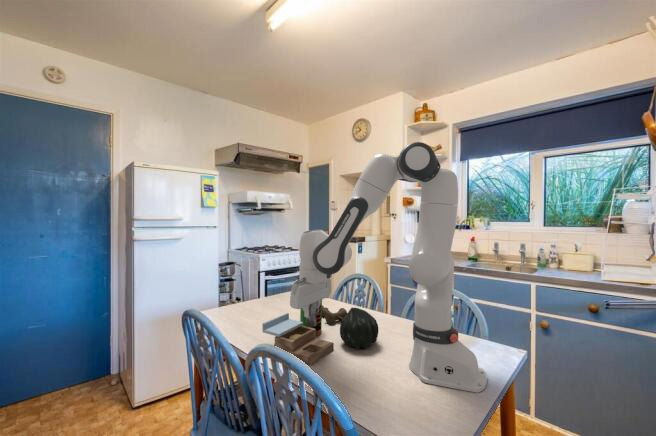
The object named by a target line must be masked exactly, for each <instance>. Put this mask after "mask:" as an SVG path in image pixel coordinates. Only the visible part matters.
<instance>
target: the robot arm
mask: <svg viewBox="0 0 656 436" xmlns="http://www.w3.org/2000/svg"><path fill="white" fill-rule="evenodd" d="M441 167H442V166H441V163H440V162H439V160H438V158H437V155H436V154H435V150H434V149H433V148H432V147H431V146H430V145H429V144H427V143H424V142H421V141H415V142H411V143H409V144H407V145H405V146H404V147H403V148H402V149H401V151H400V153H399V155H398V156H391V155H389V154H386V153H378V154H376V155H374V156H372V158H371V159H370V161H369V162H368V163H367V165H366V166H365V168H364V169H363V171H362V172H361V174H360V175H359V178H358V179H357V181H356V183H355V186H354V188H353V189H352V192H351V194H350V197H349V199H348V201H347V204H346V206H345V209H344V210H343V213H341V215H340V217H339V218H338V220H337V222H336V223H335V226H334V227H333V229H332V231H331V232H330V234H328V233H326V232H325V231H324V230H323V229H321V228H319V229H312V230H307V231H304V232H303V233H301V236H300V240H299V259H300V262H299V263H300V264H299V267H298V268H299V269H298V270H299V271H298V272H299V273H298V274H299V276H298V279H296V280H295V281H294V282H293V284H292V286H291V290H290V296H289V297H290V298H289V306H290V307H291V309H296V310H300V309H301V308H302V309H303V311H304V316H305V317H307V318H308V317H310V316H311V312H310V311H309V309H308V308H309V305H310V304H312V303H315V302H316V313H318V312H319V306H320V303H321V300H322V301H323V299H326V298H328V297H330V296H331V294H332V279H331V278H332V275H334V274H337V273H338V272H339V271H340V270H342V268H343V267H344V266H346V265H347V264H348V263H349V262H350V260H351V258H352V253H353V250H352V248H351V246H350V244H349V243H350V241H351V240H352V239H353V236H354V235H355V233H356V231H358V228H359V226H360V225H361V224H362V222H364V221H365V220H366V219H367V218H368V217H369V216H370V215H371V216H372V215H373V214H374V213H376V212H378V210H379V208H380V207H381V206H382V205H383V203H384V202H385V200H386V199H387V197H388V196H389V194H390V192H391V190H392V188H393V187H394V185H395V184H396V182H398V181H403V182H408V183H418V184H419V186H420V189H421V190H420V191H421V196H420V206H419V215H418V216H419V217H418V224H417V230H416V234H415V238H414V243H413V247H412V252H411V257H410V259H409V262H408V263H409V264H408V273H409V275H410V277H411V279H412V280H413V281H414V282H415V283H417V288H416V292H415V297H414V322H413V323H412V336H413V337H412V339H413V348H412V355H411V358H410V361H409V365H408V366H409V369H410V370H411V371H412V373H414V374H415V375H416V376H417V377H418V378H419V379H420V381H421V382H422V383H424V384H425V383H426V384H430V385H434V386H441V387H446V388H451V389H455V390H461V391H466V392H471V393H472V392H473V393H480V392H482V391H485V389H486V387H487V383H488V376H487V373H486V371H485V370H484V369H482V368H481V367H479V363H478V359H477V357H476V355H475V353H474V352H473V351H472V350H470V349H469V347H467V346H465V345H464V344H463V343H462V341H460V340H459V328H458V327H457V328H456V329H455V328H454V326H452V301H453V300H452V298H453V297H452V296H453V289H454V277H455V275H454V274H455V259H454V256H453V254H452V253H451V252H452V245H453V240H454V236H455V232H456V226H457V225H456V224H457V216H458V215H457V214H458V203H459V183H458V176H457V175H456V173H455V172H454V171H453V170H450V169H447V168H441Z"/></svg>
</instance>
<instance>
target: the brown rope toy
mask: <svg viewBox="0 0 656 436" xmlns="http://www.w3.org/2000/svg"><path fill="white" fill-rule="evenodd" d="M347 313H348V311H347V310H346V309H345V308H344V307H341V308H339V309H338V311H337V312H334V313H333V312H332V311H330V310H329V308H328V307H325V306H324V305H323V304H322V318H323V317H324V318H325V322H326V324H328V325H329V326H331V325H333V324H334V323H335V322H336V321H339V320H340V321H342V320H343V318H344V317H345V315H346V314H347Z"/></svg>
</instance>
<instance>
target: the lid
mask: <svg viewBox="0 0 656 436" xmlns="http://www.w3.org/2000/svg"><path fill="white" fill-rule="evenodd" d="M302 325H303V322H300V320H296V319H292V318H290V313H288V312H286V313H284V314H281V315H279V316H277V317H274V318H273V319H270V320H267V321H265V322H263V323H262V333H264V334H268V335H271V336H274V337H276V336H277V337H280V336H282V335H284V334H286V333H288V332H290V331H292V330H294V329H296V328H298V327H300V326H302Z"/></svg>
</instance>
